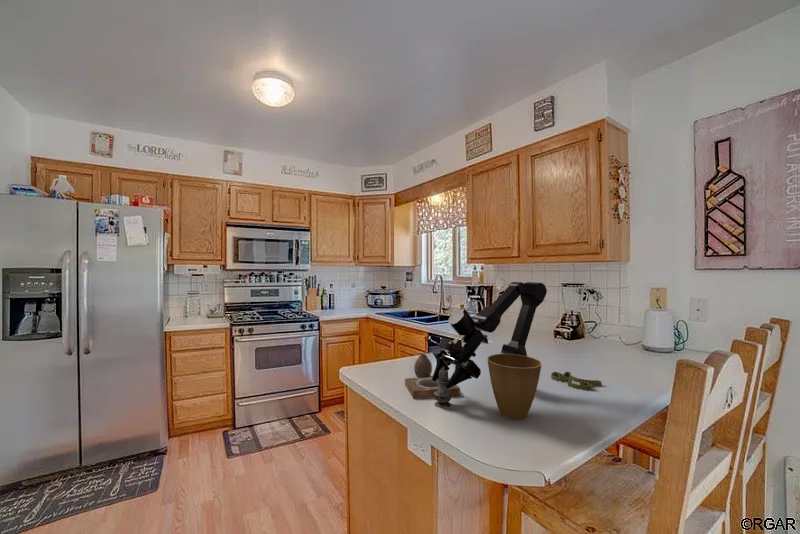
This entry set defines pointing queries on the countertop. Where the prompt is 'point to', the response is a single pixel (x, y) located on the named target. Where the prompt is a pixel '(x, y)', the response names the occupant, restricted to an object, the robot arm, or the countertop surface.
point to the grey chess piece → (443, 390)
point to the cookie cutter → (583, 383)
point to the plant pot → (514, 383)
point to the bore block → (420, 391)
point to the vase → (423, 366)
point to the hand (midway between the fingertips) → (439, 383)
